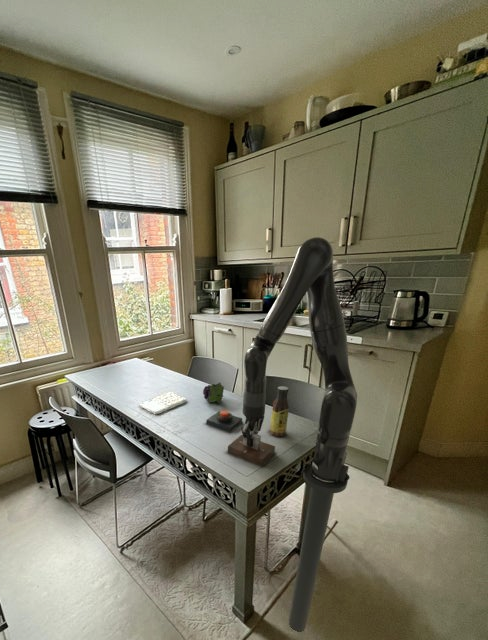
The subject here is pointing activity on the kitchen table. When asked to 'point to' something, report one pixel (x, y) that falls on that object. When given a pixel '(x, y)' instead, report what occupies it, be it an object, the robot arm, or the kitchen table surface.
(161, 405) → the calculator
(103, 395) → the kitchen table surface
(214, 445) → the kitchen table surface
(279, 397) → the sauce bottle
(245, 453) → the base
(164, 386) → the kitchen table surface
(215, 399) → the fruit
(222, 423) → the push button box
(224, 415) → the button
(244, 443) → the tap lever
